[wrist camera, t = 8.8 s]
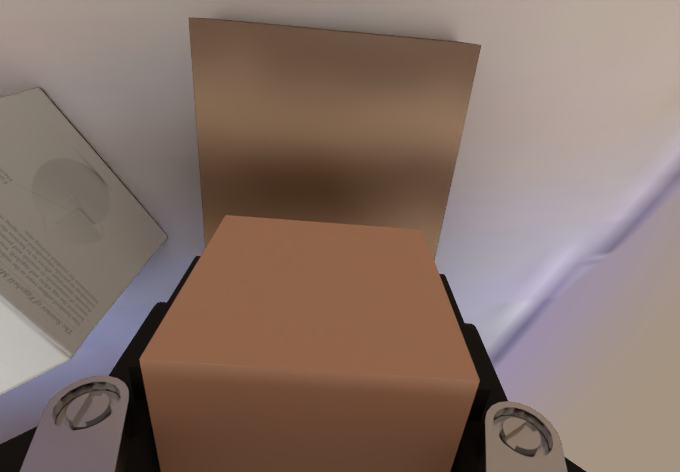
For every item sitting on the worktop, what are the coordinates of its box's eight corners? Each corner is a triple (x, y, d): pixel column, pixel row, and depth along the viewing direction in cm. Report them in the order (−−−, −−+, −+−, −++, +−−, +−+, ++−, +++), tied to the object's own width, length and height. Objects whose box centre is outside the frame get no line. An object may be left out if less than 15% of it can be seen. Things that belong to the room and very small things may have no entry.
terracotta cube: (394, 373, 13) (422, 557, 8) (233, 362, 13) (175, 545, 8) (422, 229, 11) (480, 380, 6) (225, 214, 10) (138, 359, 6)
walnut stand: (411, 277, 27) (422, 315, 24) (226, 264, 27) (209, 301, 23) (457, 41, 21) (481, 45, 17) (215, 18, 20) (188, 17, 17)
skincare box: (-41, 145, 23) (-298, 226, 14) (41, 84, 22) (-186, 129, 12) (95, 281, 27) (-32, 415, 18) (171, 238, 26) (76, 359, 16)
